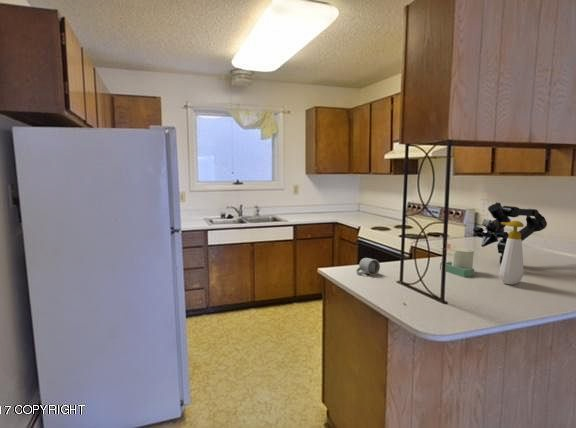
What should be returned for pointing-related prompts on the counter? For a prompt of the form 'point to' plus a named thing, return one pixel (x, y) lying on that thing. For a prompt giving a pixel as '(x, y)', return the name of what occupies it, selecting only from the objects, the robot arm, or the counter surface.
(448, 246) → the green piece
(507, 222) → the robot arm
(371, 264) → the ceramic mug
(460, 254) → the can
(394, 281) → the counter surface
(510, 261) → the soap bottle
